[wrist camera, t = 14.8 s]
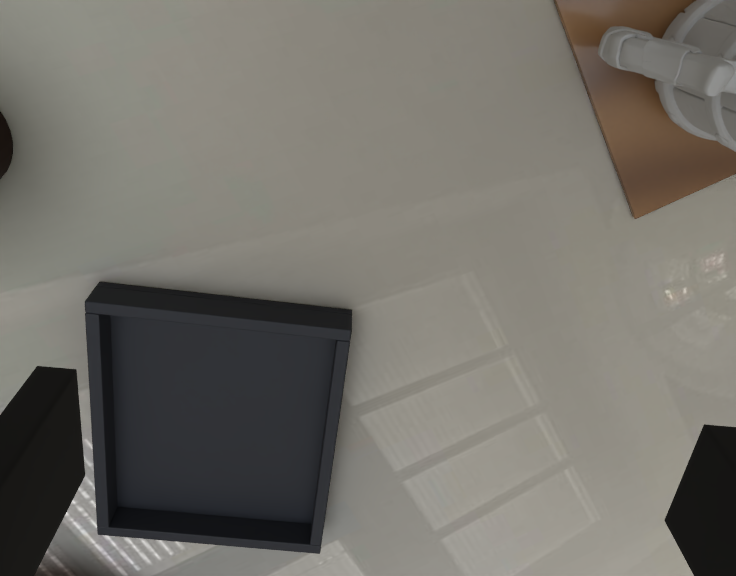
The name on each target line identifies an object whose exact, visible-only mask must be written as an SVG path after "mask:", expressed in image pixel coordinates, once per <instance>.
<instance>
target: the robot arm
mask: <svg viewBox="0 0 736 576" xmlns="http://www.w3.org/2000/svg"><path fill="white" fill-rule="evenodd" d="M84 476H85V468H84V456H83V444H82V432H81V420H80V408H79V396H78V384H77V372H76V369H65V368H53V367H42V366H37V367H36V368H35V370H34V371H33V372H32V374H31V375H30V376H29V378H28V379H27V380H26V382H25V383H24V384H23V386H22V387H21V388H20V390H19V391H18V392H17V394H16V395H15V396H14V398H13V399H12V400H11V402H10V403H9V404H8V405H7V407H6V408H5V409H4V411H3V412H2V413H1V415H0V576H34V574H35V572H36V570H37V569H38V567H39V565H40V563H41V561H42V559H43V557H44V555H45V553H46V551H47V549H48V547H49V545H50V543H51V541H52V539H53V537H54V535H55V533H56V531H57V529H58V527H59V525H60V523H61V522H62V520H63V518H64V516H65V514H66V512H67V510H68V508H69V506H70V504H71V502H72V500H73V498H74V496H75V494H76V492H77V490H78V488H79V486H80V484H81V482H82V480H83V478H84ZM665 522H666V524H667V526H668V528H669V530H670V532H671V533H672V535H673V537H674V539H675V541H676V543H677V545H678V546H679V548H680V550H681V552H682V554H683V556H684V558H685V560H686V561H687V563H688V565H689V567H690V569H691V571H692V573H693V574H694V576H736V427H726V426H714V425H704V426H703V428H702V431H701V433H700V436H699V438H698V440H697V443H696V445H695V448H694V450H693V453H692V455H691V457H690V460H689V462H688V465H687V467H686V470H685V472H684V474H683V477H682V479H681V482H680V484H679V487H678V489H677V491H676V494H675V496H674V499H673V501H672V504H671V506H670V508H669V511H668V513H667V516H666V518H665Z"/></svg>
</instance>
